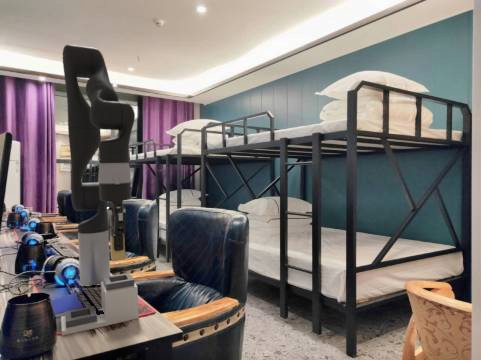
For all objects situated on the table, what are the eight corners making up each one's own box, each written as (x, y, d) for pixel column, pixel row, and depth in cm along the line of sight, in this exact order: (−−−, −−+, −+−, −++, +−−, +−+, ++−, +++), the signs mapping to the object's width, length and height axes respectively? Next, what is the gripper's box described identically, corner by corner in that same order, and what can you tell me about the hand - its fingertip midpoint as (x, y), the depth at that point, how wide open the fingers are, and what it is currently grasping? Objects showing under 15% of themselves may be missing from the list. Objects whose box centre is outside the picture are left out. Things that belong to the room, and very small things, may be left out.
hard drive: (46, 299, 97) (53, 313, 87) (77, 292, 102) (88, 305, 92) (46, 305, 97) (54, 320, 87) (77, 297, 102) (88, 311, 92)
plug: (110, 258, 88) (109, 227, 88) (123, 256, 89) (122, 226, 89) (112, 261, 85) (111, 229, 85) (125, 259, 87) (124, 228, 86)
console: (61, 320, 85) (59, 282, 85) (131, 305, 93) (130, 271, 93) (61, 335, 77) (60, 294, 77) (138, 318, 86) (137, 280, 85)
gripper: (95, 181, 91) (98, 245, 92) (102, 183, 78) (105, 257, 79) (125, 179, 94) (127, 241, 95) (136, 181, 82) (138, 252, 83)
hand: (117, 248), depth 87 cm, fingers closed on plug, 3 cm apart
